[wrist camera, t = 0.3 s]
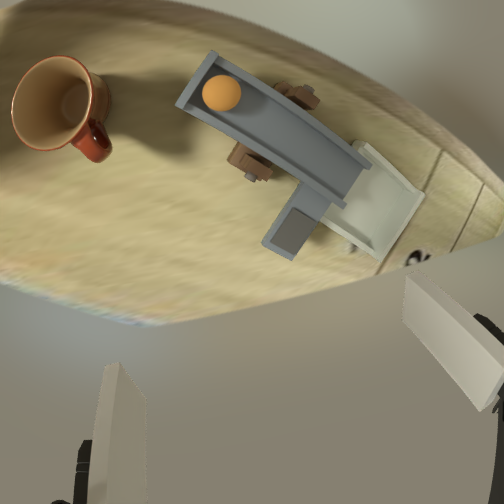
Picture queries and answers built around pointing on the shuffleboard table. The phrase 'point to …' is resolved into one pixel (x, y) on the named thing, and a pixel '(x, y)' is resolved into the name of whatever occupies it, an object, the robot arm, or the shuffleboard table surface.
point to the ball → (221, 93)
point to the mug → (62, 108)
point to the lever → (281, 149)
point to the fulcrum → (255, 162)
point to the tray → (374, 205)
